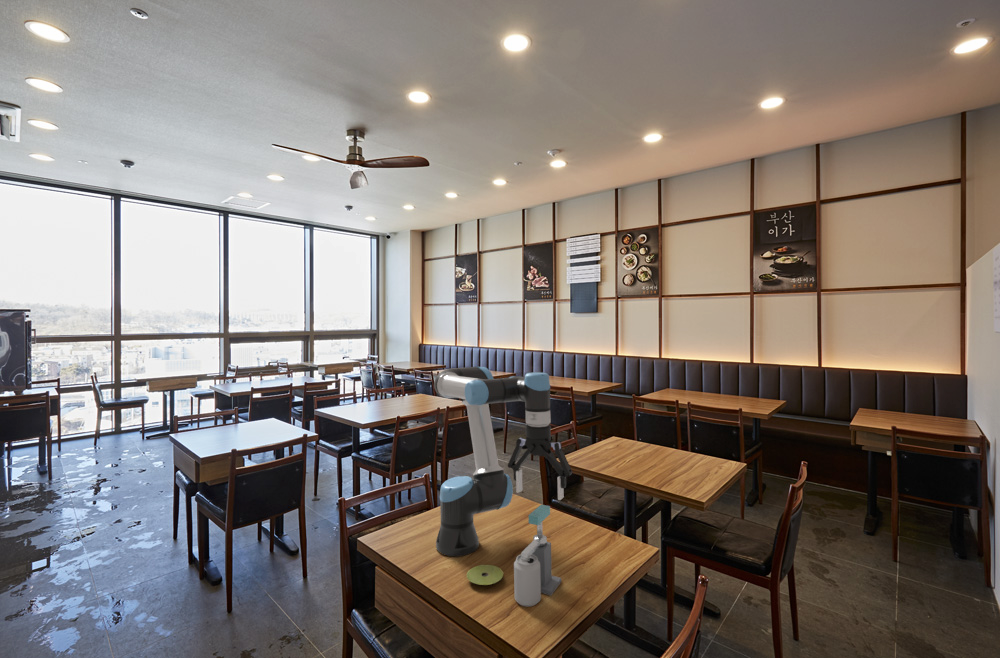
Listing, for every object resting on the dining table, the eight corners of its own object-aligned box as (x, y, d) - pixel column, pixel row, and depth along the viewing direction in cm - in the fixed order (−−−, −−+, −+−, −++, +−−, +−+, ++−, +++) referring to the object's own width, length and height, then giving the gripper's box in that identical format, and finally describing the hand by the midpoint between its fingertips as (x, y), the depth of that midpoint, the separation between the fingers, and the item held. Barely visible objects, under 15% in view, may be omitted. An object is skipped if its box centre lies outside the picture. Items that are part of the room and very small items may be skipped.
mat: (508, 587, 134) (507, 580, 134) (471, 593, 131) (471, 587, 131) (497, 568, 145) (497, 561, 145) (463, 573, 142) (463, 567, 142)
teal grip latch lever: (518, 557, 127) (517, 522, 127) (540, 535, 140) (539, 504, 140) (531, 561, 125) (530, 525, 125) (552, 538, 138) (551, 506, 138)
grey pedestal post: (519, 586, 134) (519, 546, 134) (531, 573, 141) (530, 535, 141) (550, 595, 129) (550, 554, 129) (561, 581, 136) (560, 542, 136)
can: (539, 609, 123) (538, 566, 123) (512, 606, 125) (511, 563, 125) (542, 593, 130) (541, 552, 130) (516, 591, 132) (516, 550, 132)
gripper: (496, 423, 138) (497, 492, 138) (573, 430, 126) (574, 506, 126) (507, 418, 145) (509, 484, 145) (582, 425, 132) (583, 497, 132)
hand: (539, 495), depth 135 cm, fingers open, 13 cm apart
